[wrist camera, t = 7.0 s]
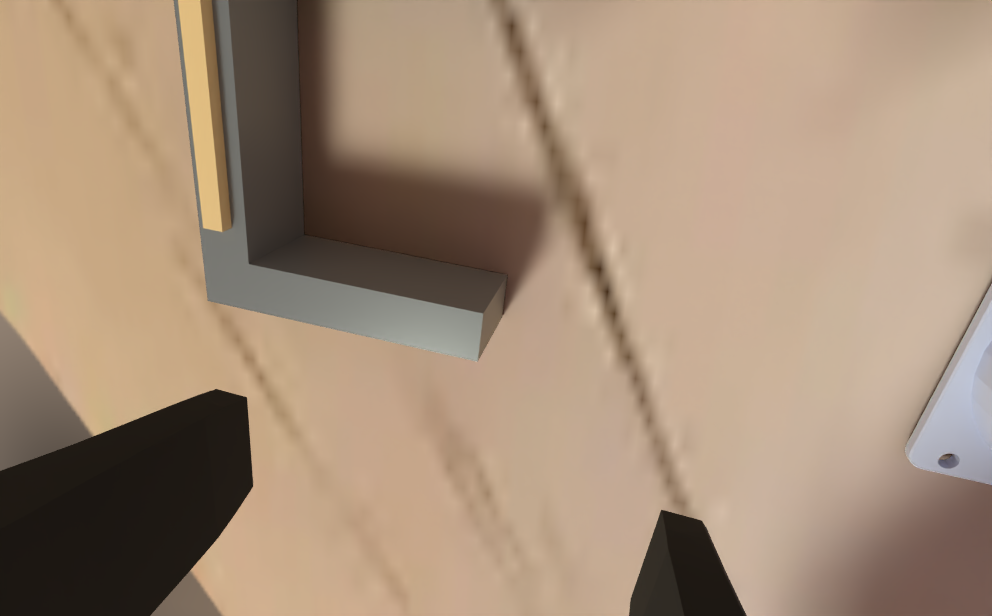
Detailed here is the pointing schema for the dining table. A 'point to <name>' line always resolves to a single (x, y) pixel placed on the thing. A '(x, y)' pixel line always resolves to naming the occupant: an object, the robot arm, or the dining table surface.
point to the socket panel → (298, 199)
